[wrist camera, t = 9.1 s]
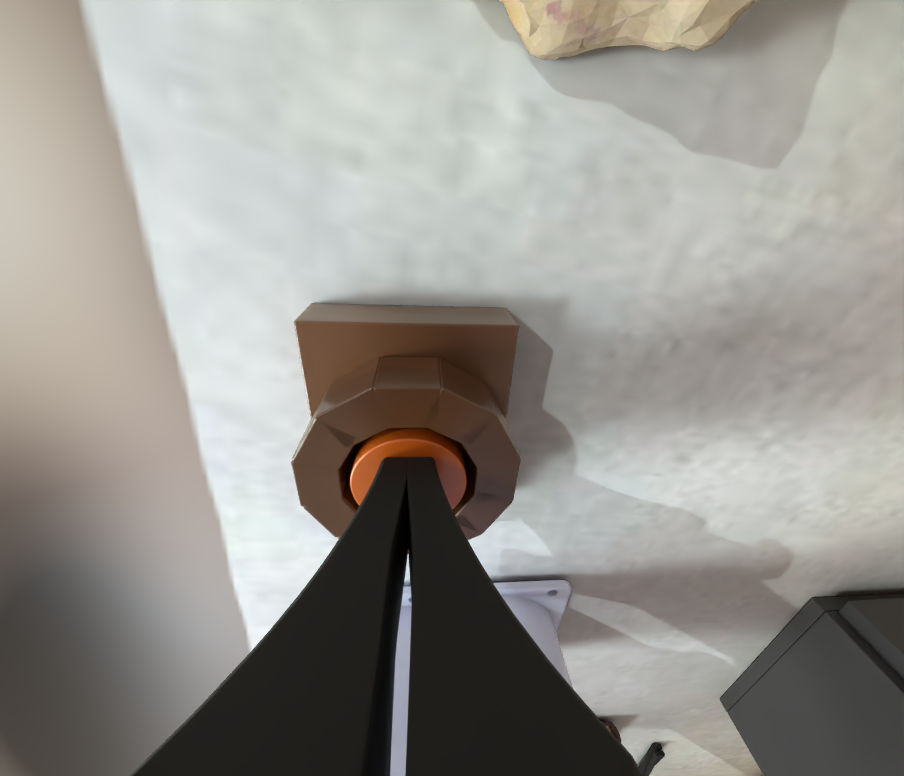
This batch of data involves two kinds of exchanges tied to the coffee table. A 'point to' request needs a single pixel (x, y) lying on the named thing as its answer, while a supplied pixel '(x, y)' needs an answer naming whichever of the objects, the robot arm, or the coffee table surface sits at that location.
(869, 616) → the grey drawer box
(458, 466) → the button
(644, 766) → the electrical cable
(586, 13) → the stone
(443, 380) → the brown button housing
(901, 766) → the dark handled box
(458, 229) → the coffee table surface
